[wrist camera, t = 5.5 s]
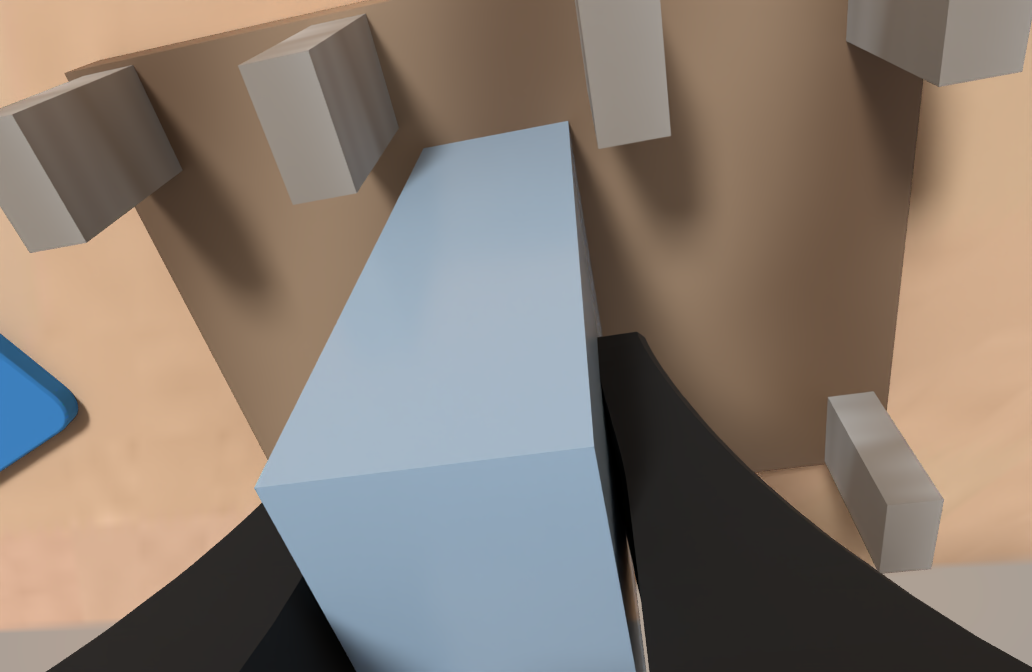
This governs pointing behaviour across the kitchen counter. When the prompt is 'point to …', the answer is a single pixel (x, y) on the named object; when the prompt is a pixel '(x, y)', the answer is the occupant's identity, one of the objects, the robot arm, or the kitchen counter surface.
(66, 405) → the handheld gaming device
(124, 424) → the kitchen counter surface
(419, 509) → the slate-blue tile
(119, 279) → the kitchen counter surface
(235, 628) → the robot arm
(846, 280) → the walnut rack
